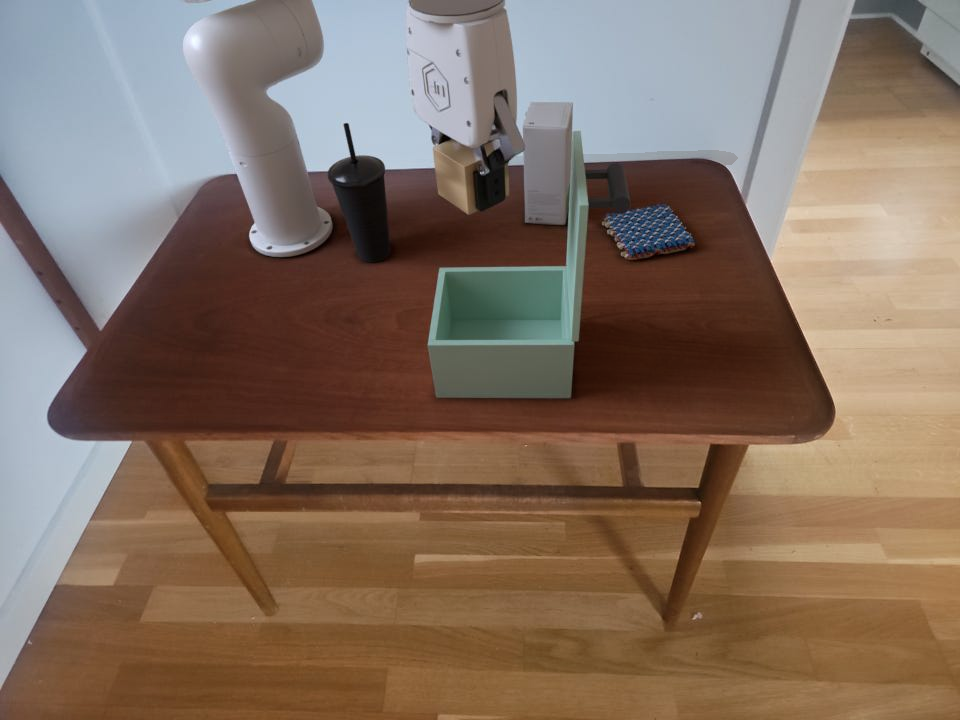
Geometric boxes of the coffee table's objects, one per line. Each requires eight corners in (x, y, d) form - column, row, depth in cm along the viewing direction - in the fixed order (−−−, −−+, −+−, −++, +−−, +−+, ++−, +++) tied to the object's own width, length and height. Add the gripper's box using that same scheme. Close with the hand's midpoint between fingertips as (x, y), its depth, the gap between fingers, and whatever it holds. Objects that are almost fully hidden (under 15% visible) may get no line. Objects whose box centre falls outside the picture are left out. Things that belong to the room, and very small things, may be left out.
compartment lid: (579, 205, 55) (638, 203, 55) (572, 130, 64) (623, 129, 64) (570, 341, 67) (619, 341, 67) (566, 262, 76) (608, 262, 76)
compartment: (436, 398, 75) (427, 345, 69) (446, 320, 84) (439, 267, 78) (570, 398, 74) (574, 344, 68) (566, 319, 83) (569, 265, 77)
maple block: (437, 194, 63) (432, 147, 60) (478, 175, 65) (474, 128, 62) (468, 215, 61) (464, 167, 57) (509, 195, 62) (508, 147, 59)
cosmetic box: (564, 227, 97) (569, 129, 86) (521, 224, 98) (520, 127, 87) (570, 196, 103) (575, 100, 91) (529, 194, 104) (529, 99, 92)
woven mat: (665, 210, 98) (667, 199, 97) (696, 251, 91) (698, 239, 90) (599, 222, 97) (600, 211, 96) (626, 265, 90) (627, 253, 88)
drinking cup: (386, 273, 92) (358, 142, 77) (339, 263, 94) (304, 135, 80) (408, 242, 97) (386, 113, 82) (363, 233, 99) (334, 107, 84)
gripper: (357, -25, 53) (393, 174, 66) (486, 27, 43) (497, 247, 56) (432, -46, 56) (451, 148, 69) (568, -2, 46) (560, 214, 59)
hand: (472, 191), depth 63 cm, fingers closed on maple block, 5 cm apart
